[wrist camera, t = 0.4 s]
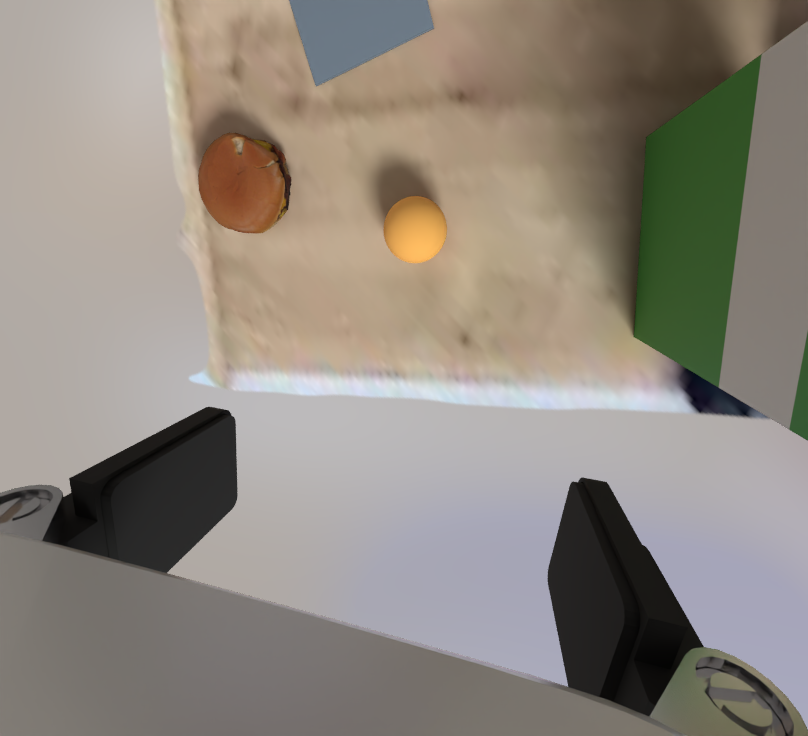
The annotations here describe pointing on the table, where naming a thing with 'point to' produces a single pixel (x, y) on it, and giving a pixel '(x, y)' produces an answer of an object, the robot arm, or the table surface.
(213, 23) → the table surface
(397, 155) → the table surface
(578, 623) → the robot arm
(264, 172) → the burger
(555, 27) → the table surface
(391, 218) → the ball
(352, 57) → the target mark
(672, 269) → the hardback book
